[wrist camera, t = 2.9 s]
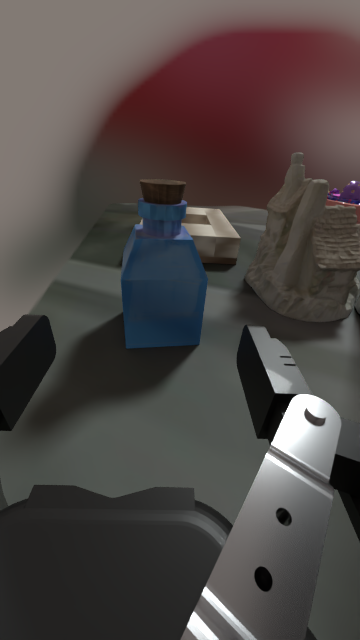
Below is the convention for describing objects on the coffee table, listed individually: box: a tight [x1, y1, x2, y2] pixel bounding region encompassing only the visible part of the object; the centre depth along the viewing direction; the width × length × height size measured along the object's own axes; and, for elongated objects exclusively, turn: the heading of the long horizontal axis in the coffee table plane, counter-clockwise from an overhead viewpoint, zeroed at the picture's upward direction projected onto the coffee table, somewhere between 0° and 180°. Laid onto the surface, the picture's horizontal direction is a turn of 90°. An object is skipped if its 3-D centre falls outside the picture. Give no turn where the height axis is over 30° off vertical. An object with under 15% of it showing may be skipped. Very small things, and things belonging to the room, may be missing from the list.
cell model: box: [326, 181, 360, 224], centre depth 52 cm, size 17×20×11 cm
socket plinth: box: [140, 207, 241, 265], centre depth 46 cm, size 15×22×4 cm
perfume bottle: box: [121, 179, 208, 349], centre depth 21 cm, size 6×6×12 cm
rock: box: [245, 153, 360, 322], centre depth 29 cm, size 16×16×15 cm
